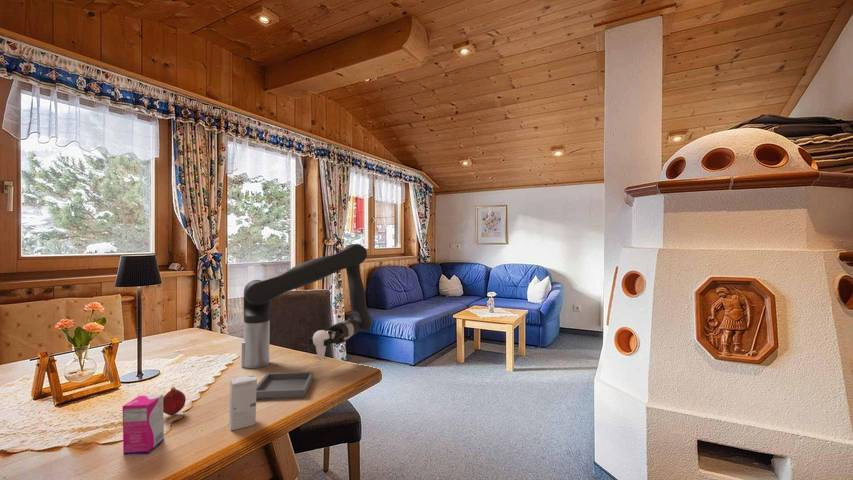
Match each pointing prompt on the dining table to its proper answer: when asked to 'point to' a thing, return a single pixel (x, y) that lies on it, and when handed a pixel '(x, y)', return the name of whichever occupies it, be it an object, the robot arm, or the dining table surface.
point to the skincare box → (242, 402)
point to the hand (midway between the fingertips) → (317, 342)
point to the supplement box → (143, 424)
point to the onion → (173, 402)
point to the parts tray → (284, 385)
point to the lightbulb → (320, 342)
